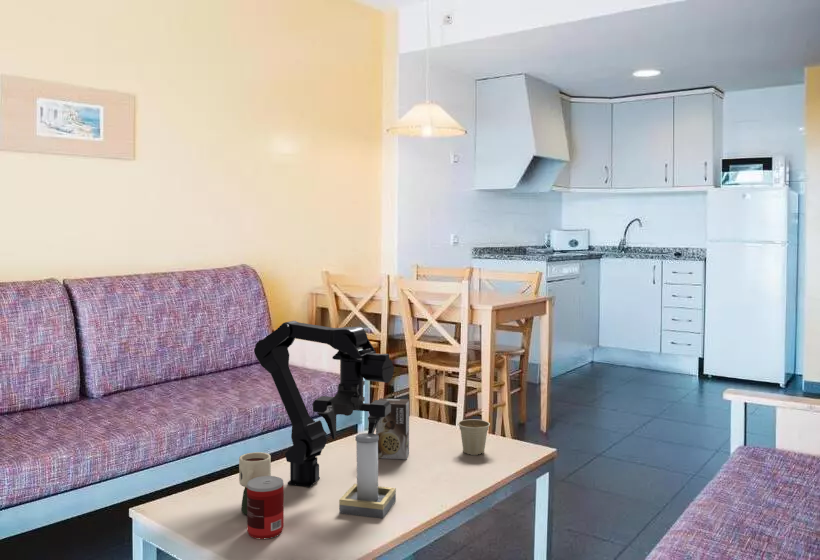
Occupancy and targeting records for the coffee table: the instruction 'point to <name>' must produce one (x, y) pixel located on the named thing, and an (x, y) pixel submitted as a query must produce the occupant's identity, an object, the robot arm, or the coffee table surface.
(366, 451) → the tall white tube
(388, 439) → the coffee box
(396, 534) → the coffee table surface
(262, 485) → the canned food
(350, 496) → the tan rimmed dish
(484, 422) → the flower pot
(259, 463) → the character mug
